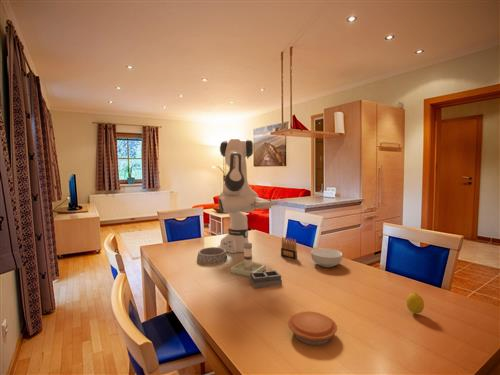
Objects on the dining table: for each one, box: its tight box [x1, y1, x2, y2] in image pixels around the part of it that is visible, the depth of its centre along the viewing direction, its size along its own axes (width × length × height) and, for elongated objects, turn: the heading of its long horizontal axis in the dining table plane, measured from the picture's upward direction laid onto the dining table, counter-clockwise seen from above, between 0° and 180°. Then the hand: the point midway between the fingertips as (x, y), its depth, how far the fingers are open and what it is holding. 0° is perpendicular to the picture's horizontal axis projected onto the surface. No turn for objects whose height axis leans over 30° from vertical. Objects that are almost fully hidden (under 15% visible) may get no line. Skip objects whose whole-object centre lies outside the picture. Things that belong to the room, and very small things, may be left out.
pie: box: [287, 311, 338, 346], centre depth 92 cm, size 16×16×5 cm
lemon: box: [406, 292, 425, 315], centre depth 103 cm, size 6×6×8 cm
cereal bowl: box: [310, 247, 343, 268], centre depth 155 cm, size 17×17×7 cm
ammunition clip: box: [280, 236, 298, 260], centre depth 168 cm, size 11×2×12 cm, turn 47°
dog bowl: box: [196, 246, 228, 265], centre depth 167 cm, size 17×18×5 cm
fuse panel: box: [249, 269, 283, 289], centre depth 133 cm, size 13×9×4 cm
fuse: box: [243, 242, 253, 271], centre depth 146 cm, size 4×4×14 cm
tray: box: [230, 260, 266, 278], centre depth 147 cm, size 14×12×3 cm
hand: (273, 202), depth 154 cm, fingers open, 8 cm apart
